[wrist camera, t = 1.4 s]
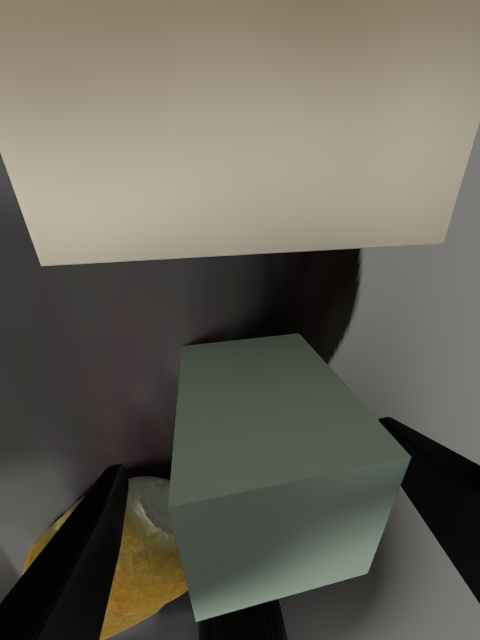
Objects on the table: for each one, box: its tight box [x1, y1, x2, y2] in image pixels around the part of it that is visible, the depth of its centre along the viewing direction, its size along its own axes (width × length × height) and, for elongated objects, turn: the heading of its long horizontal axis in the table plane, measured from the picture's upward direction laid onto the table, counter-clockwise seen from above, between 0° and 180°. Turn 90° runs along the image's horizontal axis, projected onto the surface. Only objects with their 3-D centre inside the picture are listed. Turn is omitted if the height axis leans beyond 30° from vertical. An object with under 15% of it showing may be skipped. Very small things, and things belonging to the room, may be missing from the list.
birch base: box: [0, 0, 480, 266], centre depth 5 cm, size 9×9×4 cm
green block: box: [168, 333, 411, 622], centre depth 8 cm, size 5×5×6 cm
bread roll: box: [22, 476, 188, 640], centre depth 12 cm, size 8×9×4 cm
